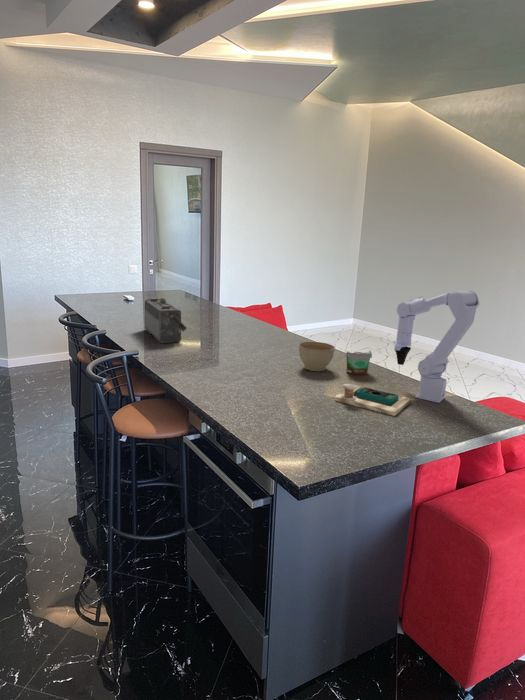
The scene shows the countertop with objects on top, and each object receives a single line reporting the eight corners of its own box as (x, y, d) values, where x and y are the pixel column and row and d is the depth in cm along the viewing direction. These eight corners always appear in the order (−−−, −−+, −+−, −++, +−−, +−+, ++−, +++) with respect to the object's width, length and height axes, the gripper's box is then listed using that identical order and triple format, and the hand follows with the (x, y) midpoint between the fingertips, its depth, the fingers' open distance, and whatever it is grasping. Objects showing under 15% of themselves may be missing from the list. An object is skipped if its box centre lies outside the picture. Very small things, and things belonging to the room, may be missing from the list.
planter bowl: (331, 375, 210) (333, 351, 207) (295, 371, 213) (296, 348, 210) (334, 365, 225) (336, 343, 223) (299, 362, 228) (301, 340, 226)
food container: (349, 377, 209) (351, 354, 207) (343, 372, 215) (345, 351, 213) (375, 376, 213) (377, 354, 210) (368, 371, 218) (370, 350, 216)
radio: (144, 329, 281) (143, 295, 276) (168, 328, 287) (168, 295, 282) (160, 344, 248) (160, 306, 243) (187, 343, 255) (187, 305, 250)
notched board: (410, 402, 182) (412, 386, 180) (393, 416, 167) (396, 399, 165) (354, 388, 194) (355, 373, 193) (334, 400, 179) (335, 384, 178)
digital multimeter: (362, 392, 191) (363, 385, 190) (398, 401, 183) (399, 394, 183) (354, 397, 185) (355, 390, 185) (392, 407, 177) (393, 399, 177)
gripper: (400, 327, 203) (397, 358, 206) (388, 333, 191) (385, 365, 194) (417, 330, 199) (413, 362, 202) (406, 336, 187) (402, 369, 191)
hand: (400, 364), depth 198 cm, fingers closed
